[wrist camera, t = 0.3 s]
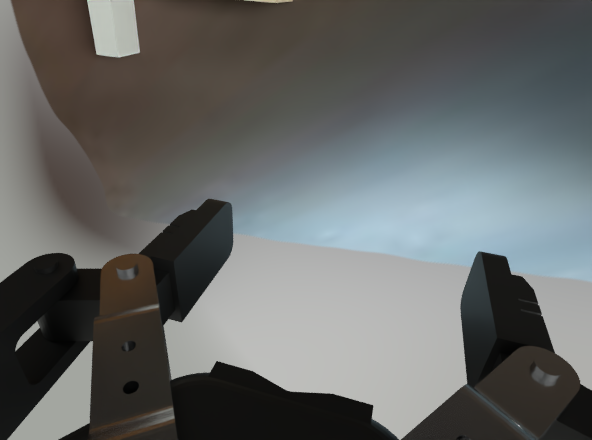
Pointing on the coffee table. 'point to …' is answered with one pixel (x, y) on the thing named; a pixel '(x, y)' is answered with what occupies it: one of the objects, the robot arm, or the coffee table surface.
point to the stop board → (114, 27)
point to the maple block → (272, 0)
